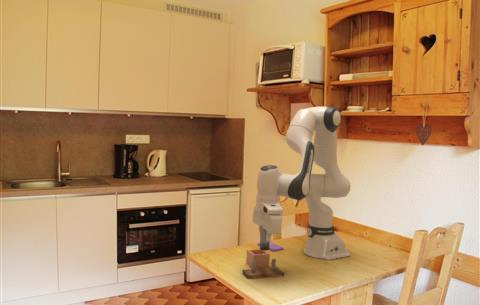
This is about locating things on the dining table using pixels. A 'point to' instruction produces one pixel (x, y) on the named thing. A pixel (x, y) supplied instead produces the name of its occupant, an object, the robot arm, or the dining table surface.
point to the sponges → (274, 247)
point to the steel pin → (263, 240)
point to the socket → (258, 258)
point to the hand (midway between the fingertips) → (264, 239)
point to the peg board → (262, 271)
